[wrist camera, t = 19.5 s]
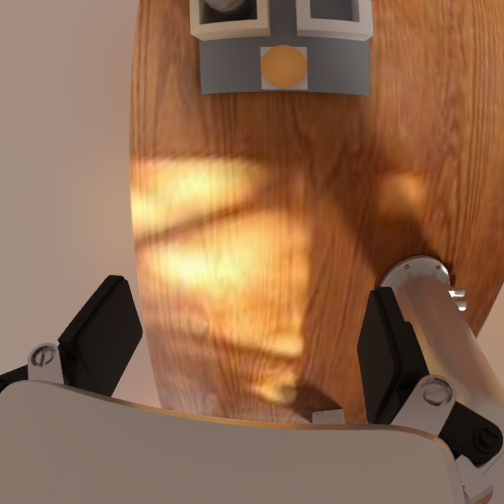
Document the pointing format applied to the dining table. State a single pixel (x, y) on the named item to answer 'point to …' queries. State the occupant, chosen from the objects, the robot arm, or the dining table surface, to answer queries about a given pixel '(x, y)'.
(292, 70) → the button
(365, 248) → the dining table surface
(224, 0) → the grey rounded cylinder
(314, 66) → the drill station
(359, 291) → the dining table surface
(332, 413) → the supplement box
